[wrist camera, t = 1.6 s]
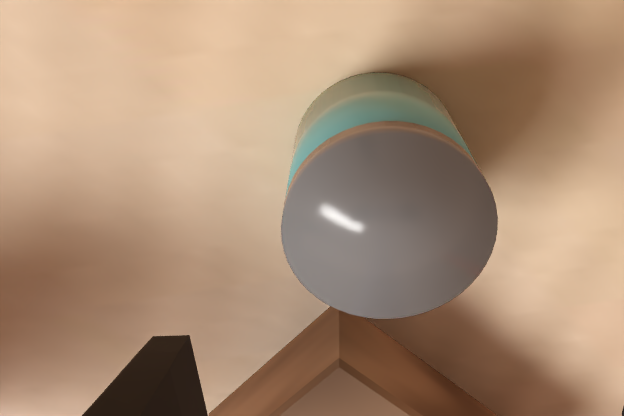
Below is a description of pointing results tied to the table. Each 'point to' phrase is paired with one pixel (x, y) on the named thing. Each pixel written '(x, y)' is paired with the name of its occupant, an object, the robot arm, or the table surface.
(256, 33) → the table surface
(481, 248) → the cylinder
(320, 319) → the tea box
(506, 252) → the table surface
